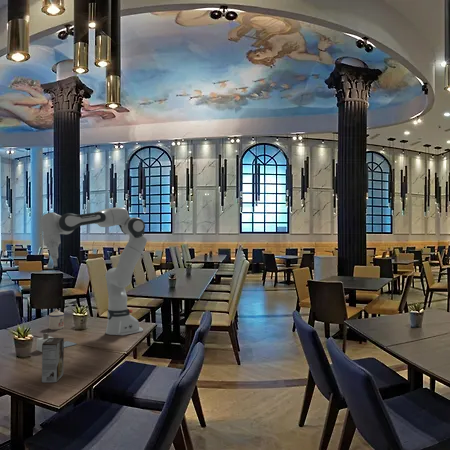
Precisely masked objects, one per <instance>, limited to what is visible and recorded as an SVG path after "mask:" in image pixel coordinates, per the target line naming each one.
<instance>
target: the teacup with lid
mask: <svg viewBox="0 0 450 450" xmlns="http://www.w3.org/2000/svg"><path fill="white" fill-rule="evenodd" d="M64 318H65V313H64V312H62V311H59V309H55V310H54V311H52V312H50V313H49V314H48V329H49V330H53V331H54V330H56V331H57V330H61V329H64V325H65V322H64V321H65V319H64Z"/></svg>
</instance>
